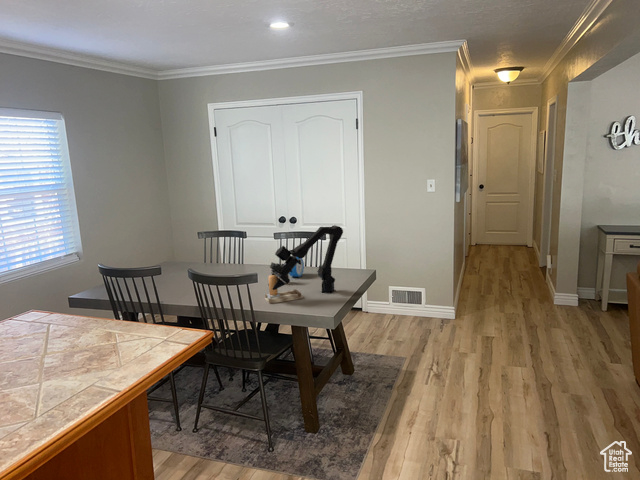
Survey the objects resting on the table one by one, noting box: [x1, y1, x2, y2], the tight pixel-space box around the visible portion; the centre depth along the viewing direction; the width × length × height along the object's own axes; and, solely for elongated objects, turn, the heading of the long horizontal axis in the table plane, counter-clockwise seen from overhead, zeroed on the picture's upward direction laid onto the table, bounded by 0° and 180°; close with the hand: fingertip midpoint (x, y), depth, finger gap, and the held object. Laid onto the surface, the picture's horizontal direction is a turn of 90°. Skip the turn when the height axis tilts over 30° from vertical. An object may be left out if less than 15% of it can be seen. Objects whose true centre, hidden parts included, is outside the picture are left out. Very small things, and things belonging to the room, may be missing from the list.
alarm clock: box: [288, 255, 305, 278], centre depth 310 cm, size 13×6×15 cm, turn 157°
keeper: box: [266, 274, 280, 298], centre depth 260 cm, size 6×6×12 cm
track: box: [264, 289, 304, 304], centre depth 263 cm, size 20×9×3 cm, turn 111°
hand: (270, 287), depth 260 cm, fingers open, 9 cm apart
